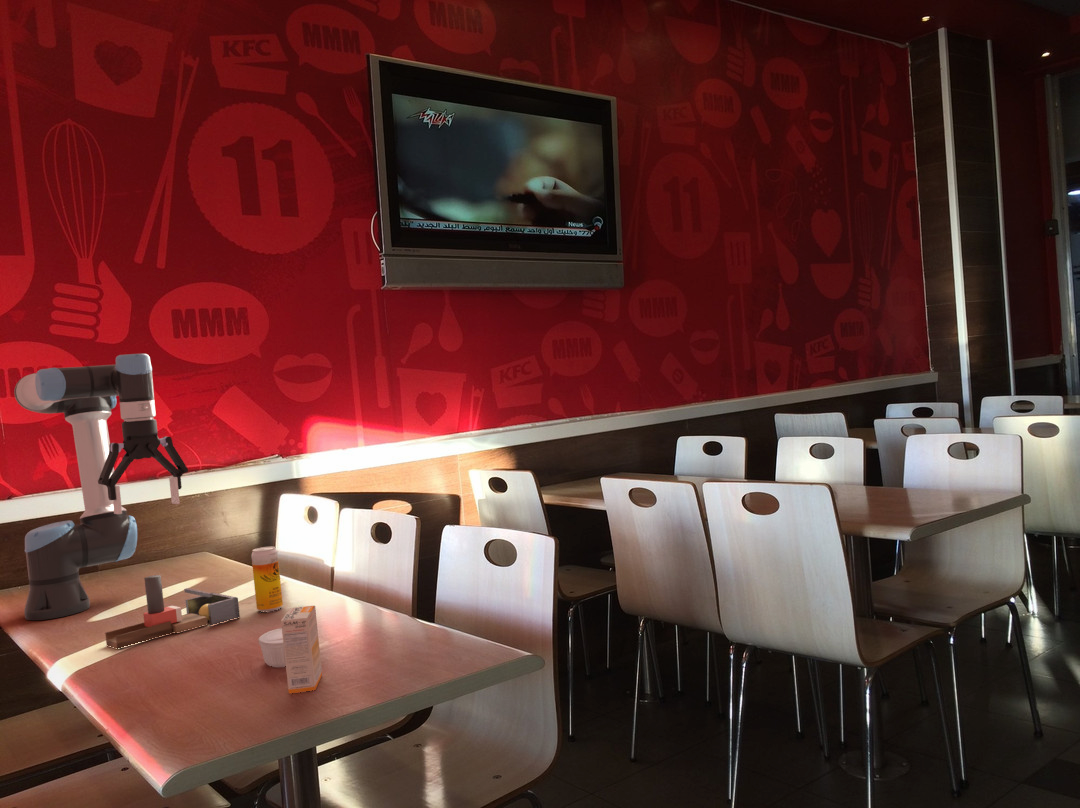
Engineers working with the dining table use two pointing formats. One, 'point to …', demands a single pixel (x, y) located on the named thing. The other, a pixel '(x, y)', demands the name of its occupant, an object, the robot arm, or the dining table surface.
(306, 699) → the dining table surface
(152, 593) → the post on red base
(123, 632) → the rail
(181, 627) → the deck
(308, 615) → the supplement box
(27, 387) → the robot arm
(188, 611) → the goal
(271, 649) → the ramekin
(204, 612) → the ball
